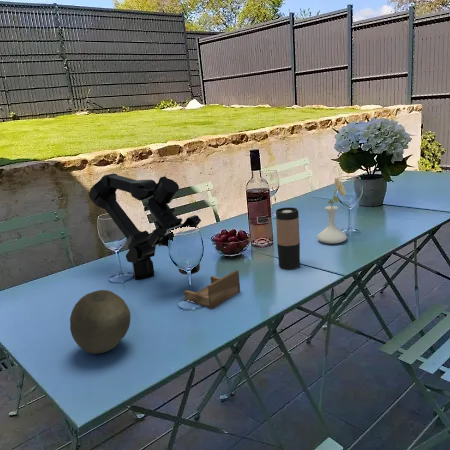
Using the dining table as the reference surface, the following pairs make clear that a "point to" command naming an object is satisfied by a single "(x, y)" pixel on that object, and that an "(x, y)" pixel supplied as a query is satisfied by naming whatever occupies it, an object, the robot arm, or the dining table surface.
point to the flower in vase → (333, 220)
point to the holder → (216, 291)
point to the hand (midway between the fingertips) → (190, 251)
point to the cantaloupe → (99, 321)
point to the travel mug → (288, 238)
